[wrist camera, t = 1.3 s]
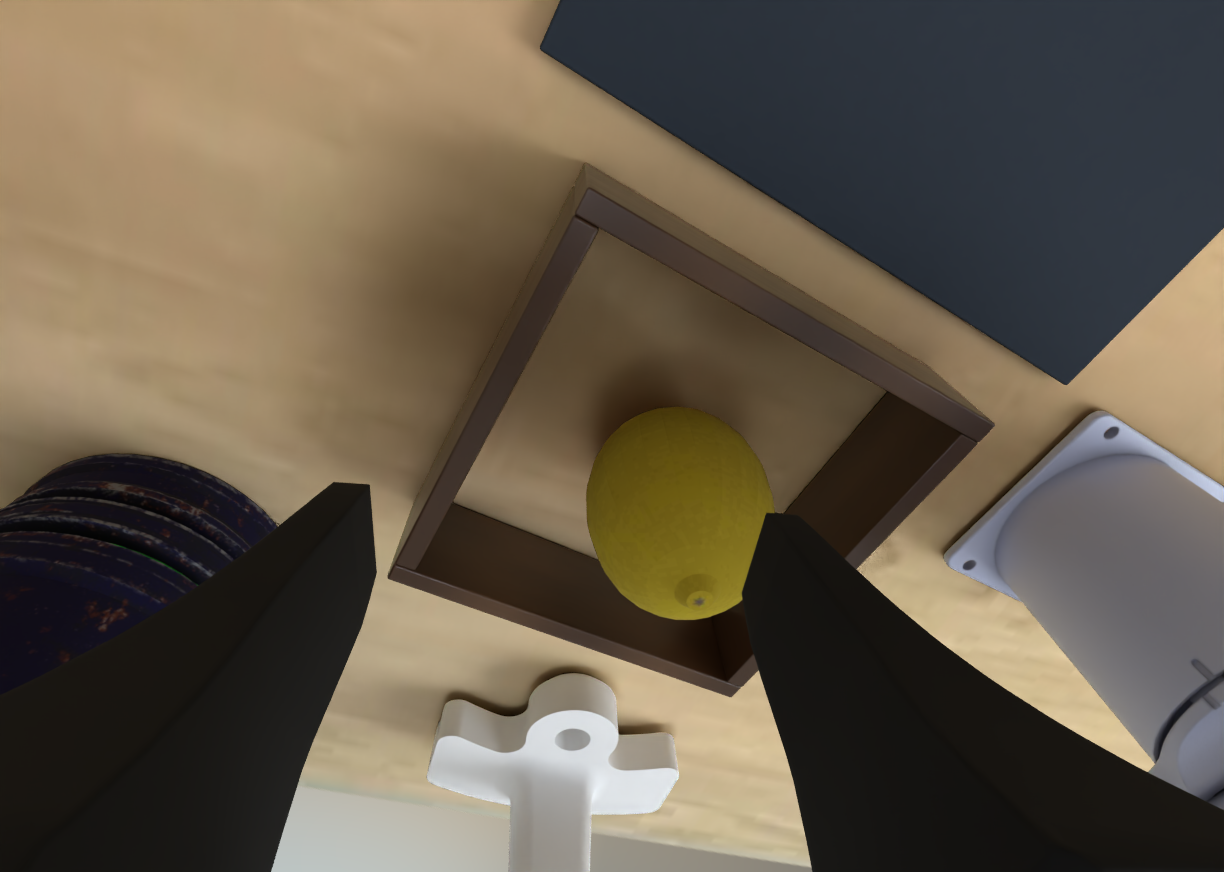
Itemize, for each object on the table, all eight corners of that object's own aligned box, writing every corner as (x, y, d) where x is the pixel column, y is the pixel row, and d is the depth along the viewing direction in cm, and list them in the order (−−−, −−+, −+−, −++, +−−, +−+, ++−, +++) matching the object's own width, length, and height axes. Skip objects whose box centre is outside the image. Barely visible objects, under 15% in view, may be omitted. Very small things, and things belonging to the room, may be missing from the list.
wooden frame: (930, 367, 22) (996, 425, 18) (711, 618, 28) (731, 698, 24) (584, 161, 18) (587, 186, 15) (413, 503, 24) (385, 579, 20)
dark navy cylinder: (342, 530, 24) (76, 1071, 11) (250, 679, 28) (-25, 1209, 15) (48, 400, 21) (-798, 955, 8) (-9, 590, 25) (-642, 1169, 12)
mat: (1403, 24, 17) (1428, 23, 17) (1055, 378, 22) (1067, 386, 22) (836, -630, 11) (849, -662, 11) (539, 49, 17) (538, 49, 16)
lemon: (685, 335, 21) (740, 473, 14) (766, 450, 23) (847, 615, 16) (551, 425, 22) (542, 590, 15) (641, 524, 25) (668, 704, 18)
